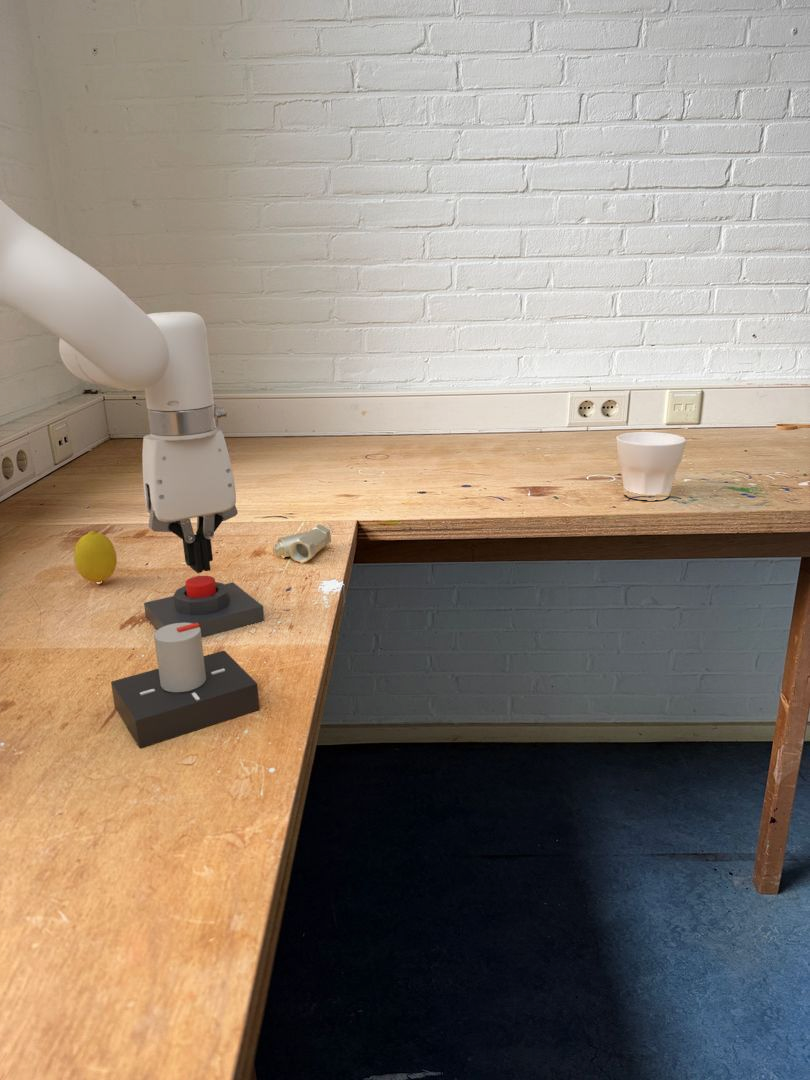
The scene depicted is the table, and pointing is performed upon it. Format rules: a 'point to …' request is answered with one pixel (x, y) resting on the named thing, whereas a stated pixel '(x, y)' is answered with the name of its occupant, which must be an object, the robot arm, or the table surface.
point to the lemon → (95, 557)
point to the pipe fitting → (303, 544)
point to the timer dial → (180, 657)
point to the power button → (200, 586)
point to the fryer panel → (184, 701)
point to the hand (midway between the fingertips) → (200, 568)
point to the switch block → (207, 610)
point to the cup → (649, 461)
